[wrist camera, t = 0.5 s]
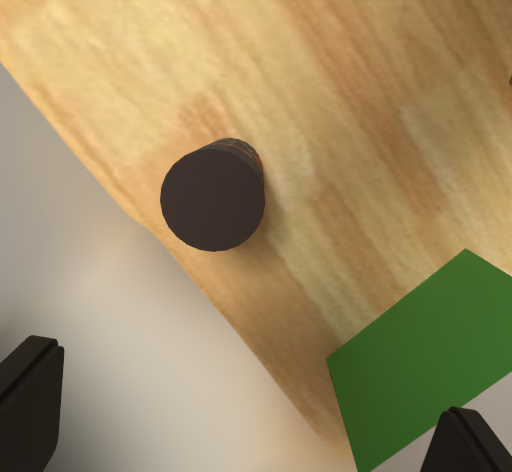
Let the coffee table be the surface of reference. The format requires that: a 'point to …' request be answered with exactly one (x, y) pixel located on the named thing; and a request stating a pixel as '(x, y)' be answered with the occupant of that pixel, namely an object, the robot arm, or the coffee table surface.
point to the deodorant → (215, 195)
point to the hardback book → (428, 365)
